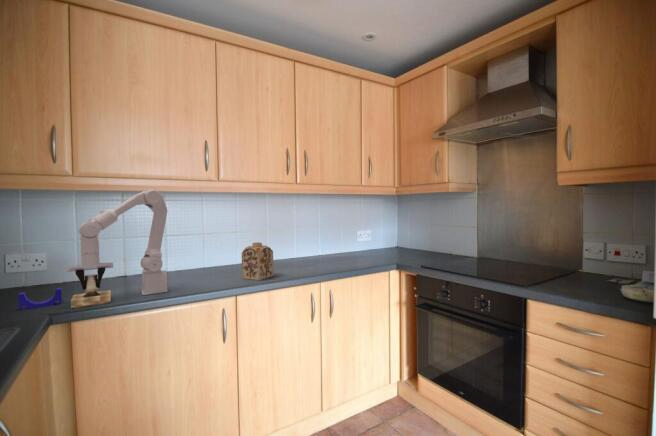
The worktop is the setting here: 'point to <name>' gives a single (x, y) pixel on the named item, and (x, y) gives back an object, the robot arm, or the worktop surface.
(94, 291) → the pin
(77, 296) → the pocket block
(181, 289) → the worktop surface
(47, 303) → the blue curved cradle
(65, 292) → the worktop surface
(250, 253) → the decorative jar
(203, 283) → the worktop surface
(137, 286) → the worktop surface
